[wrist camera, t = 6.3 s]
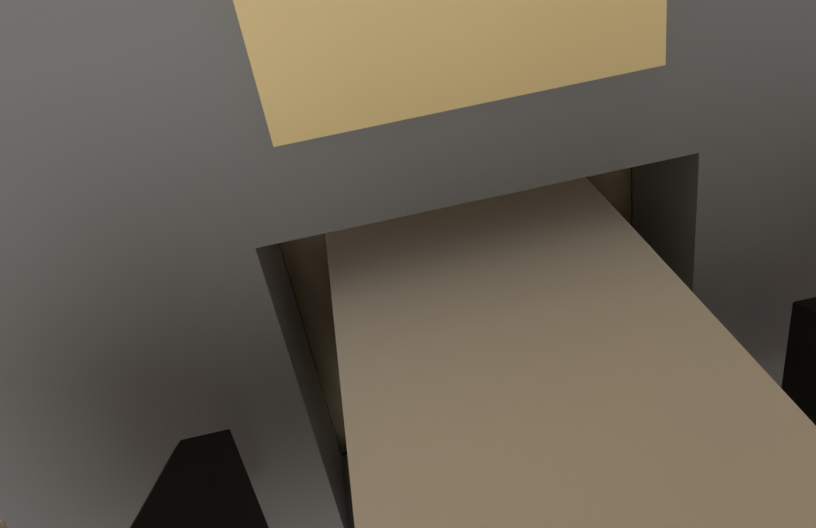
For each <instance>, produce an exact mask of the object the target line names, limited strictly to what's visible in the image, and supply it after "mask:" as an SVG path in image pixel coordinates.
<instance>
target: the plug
mask: <svg viewBox="0 0 816 528" xmlns="http://www.w3.org/2000/svg"><path fill="white" fill-rule="evenodd" d="M325 238H326V248H327V258H328V268H329V278H330V288H331V298H332V308H333V318H334V328H335V337H336V347H337V357H338V367H339V377H340V387H341V397H342V407H343V417H344V427H345V437H346V447H347V456H348V466H349V476H350V486H351V496H352V506H353V516H354V526H355V528H816V425H815V424H814V423H813V422H812V421H811V420H810V419H809V418H808V417H807V416H806V415H805V413H804V412H803V411H802V410H801V409H800V408H799V407H798V406H797V405H796V404H795V403H794V402H793V400H792V399H791V398H790V397H789V396H788V395H787V394H786V393H785V392H784V391H783V390H782V389H781V387H780V386H779V385H778V384H777V383H776V382H775V381H774V380H773V379H772V378H771V377H770V376H769V374H768V373H767V372H766V371H765V370H764V369H763V368H762V367H761V366H760V365H759V364H758V363H757V361H756V360H755V359H754V358H753V357H752V356H751V355H750V354H749V353H748V352H747V351H746V350H745V348H744V347H743V346H742V345H741V344H740V343H739V342H738V341H737V340H736V339H735V338H734V337H733V335H732V334H731V333H730V332H729V331H728V330H727V329H726V328H725V327H724V326H723V325H722V324H721V322H720V321H719V320H718V319H717V318H716V317H715V316H714V315H713V314H712V313H711V312H710V311H709V309H708V308H707V307H706V306H705V305H704V304H703V303H702V302H701V301H700V300H699V299H698V298H697V296H696V295H695V294H694V293H693V292H692V291H691V290H690V289H689V288H688V287H687V286H686V285H685V283H684V282H683V281H682V280H681V279H680V278H679V277H678V276H677V275H676V274H675V273H674V272H673V270H672V269H671V268H670V267H669V266H668V265H667V264H666V263H665V262H664V261H663V260H662V259H661V257H660V256H659V255H658V254H657V253H656V252H655V251H654V250H653V249H652V248H651V247H650V246H649V244H648V243H647V242H646V241H645V240H644V239H643V238H642V237H641V236H640V235H639V234H638V233H637V231H636V230H635V229H634V228H633V227H632V226H631V225H630V224H629V223H628V222H627V221H626V220H625V218H624V217H623V216H622V215H621V214H620V213H619V212H618V211H617V210H616V209H615V208H614V207H613V205H612V204H611V203H610V202H609V201H608V200H607V199H606V198H605V197H604V196H603V195H602V194H601V192H600V191H599V190H598V189H597V188H596V187H595V186H594V185H593V184H592V183H591V182H590V181H589V179H588V178H587V177H584V178H580V179H575V180H570V181H566V182H561V183H556V184H552V185H547V186H542V187H538V188H533V189H529V190H524V191H519V192H515V193H510V194H505V195H501V196H496V197H491V198H487V199H482V200H477V201H473V202H468V203H464V204H459V205H454V206H450V207H445V208H440V209H436V210H431V211H426V212H422V213H417V214H412V215H408V216H403V217H398V218H394V219H389V220H385V221H380V222H375V223H371V224H366V225H361V226H357V227H352V228H347V229H343V230H338V231H333V232H329V233H325Z"/></svg>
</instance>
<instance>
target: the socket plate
mask: <svg viewBox="0 0 816 528" xmlns="http://www.w3.org/2000/svg"><path fill="white" fill-rule="evenodd" d="M631 167H632V227H633V228H634V229H635V230H636V231H637V233H638V234H639V235H640V236H641V237H642V238H643V239H644V240H645V241H646V242H647V243H648V244H649V246H650V247H651V248H652V249H653V250H654V251H655V252H656V253H657V254H658V255H659V256H660V257H661V259H662V260H663V261H664V262H665V263H666V264H667V265H668V266H669V267H670V268H671V269H672V270H673V272H674V273H675V274H676V275H677V276H678V277H679V278H680V279H681V280H682V281H683V282H684V283H685V285H686V286H687V287H688V288H689V289H690V290H691V291H692V292H693V293H694V294H695V295H696V296H697V298H698V299H699V300H700V301H701V302H702V303H703V304H704V305H705V306H706V307H707V308H708V309H709V311H710V312H711V313H712V314H713V315H714V316H715V317H716V318H717V319H718V320H719V321H720V322H721V324H722V325H723V326H724V327H725V328H726V329H727V330H728V331H729V332H730V333H731V334H732V335H733V337H734V338H735V339H736V340H737V341H738V342H739V343H740V344H741V345H742V346H743V347H744V348H745V350H746V351H747V352H748V353H749V354H750V355H751V356H752V357H753V358H754V359H755V360H756V361H757V363H758V364H759V365H760V366H761V367H762V368H763V369H764V370H765V371H766V372H767V373H768V374H769V376H770V377H771V378H772V379H773V380H774V381H775V382H776V383H777V384H778V385H779V386H780V387H781V386H782V379H783V371H784V364H785V357H786V349H787V342H788V334H789V327H790V320H791V312H792V305H793V302H795V301H799V300H804V299H808V298H813V297H816V0H0V517H1V519H2V520H3V522H4V523H5V525H6V526H7V528H130V527H131V525H132V523H133V521H134V520H135V518H136V516H137V514H138V513H139V511H140V509H141V507H142V506H143V504H144V502H145V500H146V498H147V497H148V495H149V493H150V491H151V490H152V488H153V486H154V484H155V482H156V481H157V479H158V477H159V475H160V473H161V472H162V470H163V468H164V466H165V464H166V463H167V461H168V459H169V457H170V456H171V454H172V452H173V450H174V449H175V447H176V446H177V444H178V443H179V442H180V440H183V439H188V438H192V437H196V436H201V435H205V434H210V433H214V432H219V431H223V430H227V429H230V431H231V434H232V436H233V439H234V441H235V444H236V446H237V449H238V451H239V454H240V456H241V459H242V461H243V464H244V466H245V469H246V471H247V474H248V476H249V479H250V482H251V484H252V487H253V489H254V492H255V494H256V497H257V499H258V502H259V504H260V507H261V509H262V512H263V514H264V517H265V519H266V522H267V524H268V527H269V528H355V526H354V516H353V506H352V496H351V486H350V476H349V466H348V456H347V454H345V455H341V452H340V449H339V446H338V442H337V439H336V436H335V432H334V429H333V425H332V422H331V419H330V415H329V412H328V408H327V405H326V402H325V398H324V395H323V392H322V388H321V385H320V381H319V378H318V375H317V371H316V368H315V364H314V361H313V358H312V354H311V351H310V347H309V344H308V341H307V337H306V334H305V331H304V327H303V324H302V320H301V317H300V314H299V310H298V307H297V303H296V300H295V297H294V293H293V290H292V287H291V283H290V280H289V276H288V273H287V270H286V266H285V263H284V259H283V256H282V253H281V249H280V246H279V243H282V242H287V241H292V240H296V239H301V238H306V237H310V236H315V235H319V234H324V233H329V232H333V231H338V230H343V229H347V228H352V227H357V226H361V225H366V224H371V223H375V222H380V221H385V220H389V219H394V218H398V217H403V216H408V215H412V214H417V213H422V212H426V211H431V210H436V209H440V208H445V207H450V206H454V205H459V204H464V203H468V202H473V201H477V200H482V199H487V198H491V197H496V196H501V195H505V194H510V193H515V192H519V191H524V190H529V189H533V188H538V187H542V186H547V185H552V184H556V183H561V182H566V181H570V180H575V179H580V178H584V177H589V176H594V175H598V174H603V173H608V172H612V171H617V170H621V169H626V168H631Z"/></svg>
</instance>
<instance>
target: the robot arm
mask: <svg viewBox="0 0 816 528" xmlns="http://www.w3.org/2000/svg"><path fill="white" fill-rule="evenodd" d="M781 389H782V390H783V391H784V392H785V393H786V394H787V395H788V396H789V397H790V398H791V399H792V400H793V402H794V403H795V404H796V405H797V406H798V407H799V408H800V409H801V410H802V411H803V412H804V413H805V415H806V416H807V417H808V418H809V419H810V420H811V421H812V422H813V423H814V424H815V425H816V297H813V298H808V299H804V300H799V301H795V302H793V305H792V312H791V320H790V327H789V334H788V342H787V349H786V357H785V364H784V371H783V379H782V386H781ZM130 528H269V527H268V524H267V522H266V519H265V517H264V514H263V512H262V509H261V507H260V504H259V502H258V499H257V497H256V494H255V492H254V489H253V487H252V484H251V482H250V479H249V476H248V474H247V471H246V469H245V466H244V464H243V461H242V459H241V456H240V454H239V451H238V449H237V446H236V444H235V441H234V439H233V436H232V434H231V431H230V429H227V430H223V431H219V432H214V433H210V434H205V435H201V436H196V437H192V438H188V439H183V440H180V442H179V443H178V444H177V446H176V447H175V449H174V450H173V452H172V454H171V456H170V457H169V459H168V461H167V463H166V464H165V466H164V468H163V470H162V472H161V473H160V475H159V477H158V479H157V481H156V482H155V484H154V486H153V488H152V490H151V491H150V493H149V495H148V497H147V498H146V500H145V502H144V504H143V506H142V507H141V509H140V511H139V513H138V514H137V516H136V518H135V520H134V521H133V523H132V525H131V527H130Z"/></svg>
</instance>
